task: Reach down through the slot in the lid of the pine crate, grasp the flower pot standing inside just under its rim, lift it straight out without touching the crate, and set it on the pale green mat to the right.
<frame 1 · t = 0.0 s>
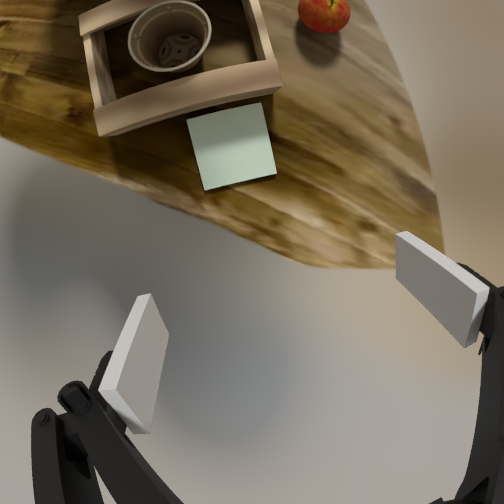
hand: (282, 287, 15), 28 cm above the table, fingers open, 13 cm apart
flower pot: (179, 53, 33), resting in crate
fruit: (316, 19, 32), on the table
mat: (232, 145, 38), on the table
crate: (179, 52, 32), on the table
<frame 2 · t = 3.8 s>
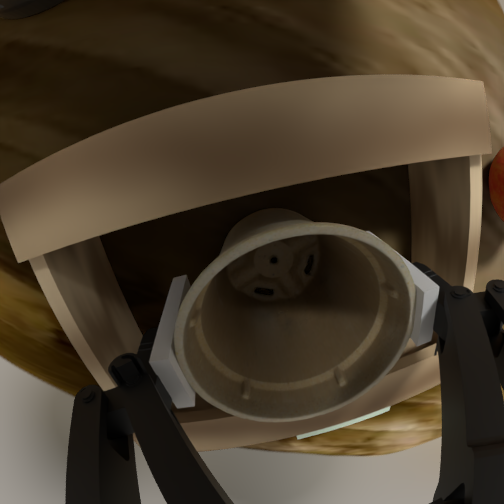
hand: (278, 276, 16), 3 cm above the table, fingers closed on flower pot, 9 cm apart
flower pot: (270, 255, 18), resting in crate, touching gripper
fruit: (494, 176, 18), on the table
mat: (342, 393, 24), on the table
crate: (271, 256, 18), on the table
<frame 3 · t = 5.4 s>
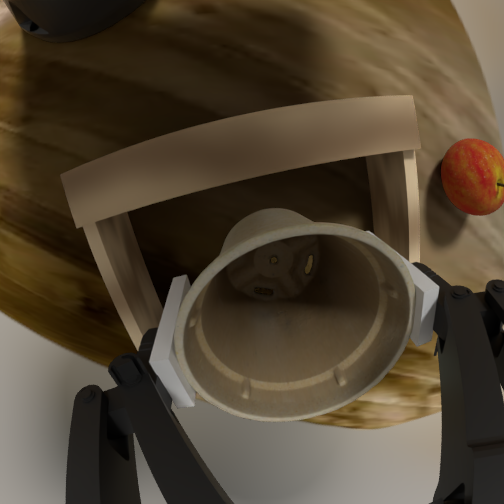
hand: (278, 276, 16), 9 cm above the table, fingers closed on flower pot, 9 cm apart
flower pot: (270, 255, 18), point 6 cm above the table, touching gripper
fruit: (450, 170, 24), on the table
crate: (259, 233, 24), on the table
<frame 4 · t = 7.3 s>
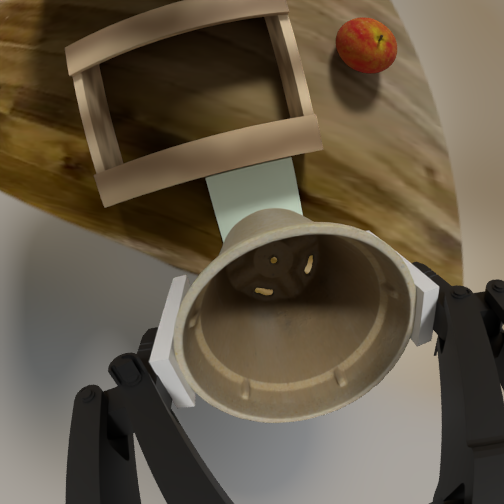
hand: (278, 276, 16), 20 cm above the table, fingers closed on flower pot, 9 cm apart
flower pot: (270, 255, 18), point 18 cm above the table, touching gripper
fruit: (353, 51, 29), on the table
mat: (257, 206, 35), on the table
crate: (192, 92, 29), on the table
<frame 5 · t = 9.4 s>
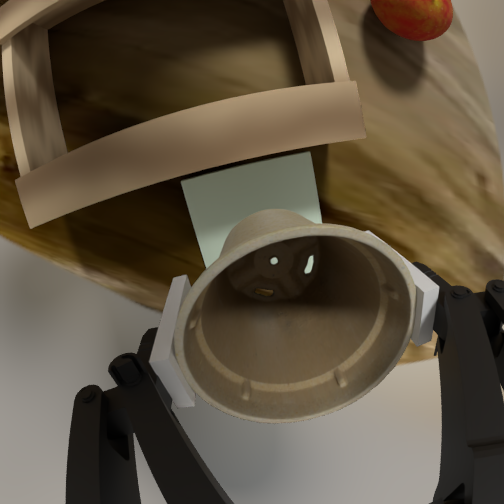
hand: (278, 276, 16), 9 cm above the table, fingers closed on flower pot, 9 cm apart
flower pot: (270, 256, 18), point 6 cm above the table, touching gripper
fruit: (390, 15, 18), on the table
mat: (258, 224, 24), on the table
crate: (165, 57, 18), on the table
when the fingers open (5 cm above the table, at t = 10.8 s): flower pot drops 1 cm, resting on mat.
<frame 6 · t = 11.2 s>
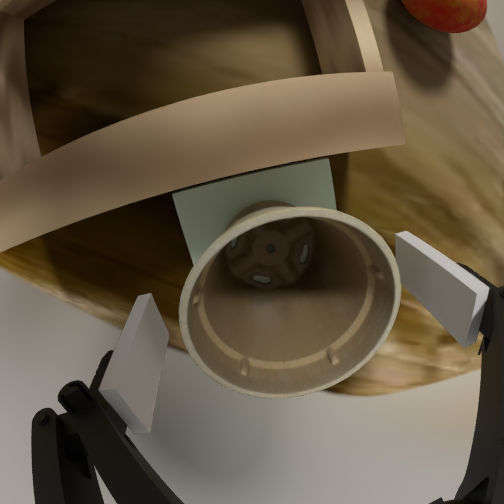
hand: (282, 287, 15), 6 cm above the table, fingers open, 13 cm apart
flower pot: (267, 245, 20), point 1 cm above the table, touching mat
fruit: (414, 3, 14), on the table
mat: (266, 244, 20), on the table
crate: (154, 45, 15), on the table
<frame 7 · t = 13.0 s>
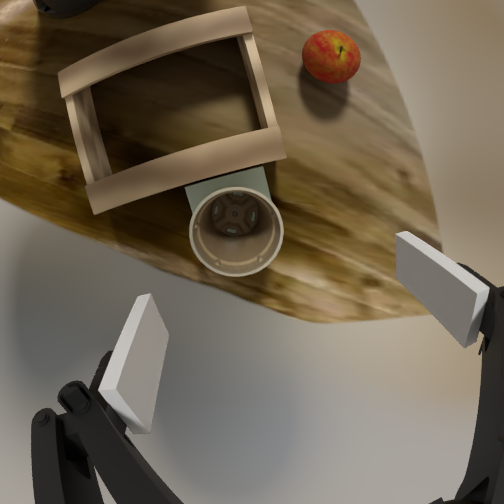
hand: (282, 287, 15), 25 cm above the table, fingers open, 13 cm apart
flower pot: (234, 212, 38), point 1 cm above the table, touching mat
fruit: (321, 63, 32), on the table
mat: (233, 212, 38), on the table
crate: (172, 109, 33), on the table
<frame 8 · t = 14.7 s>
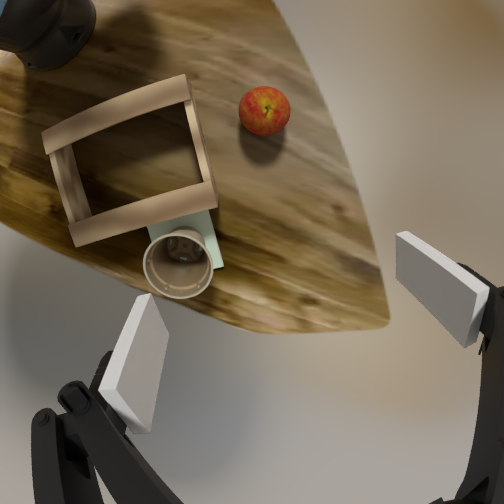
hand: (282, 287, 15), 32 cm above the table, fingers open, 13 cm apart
flower pot: (185, 244, 46), point 1 cm above the table, touching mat
fruit: (261, 112, 40), on the table
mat: (185, 243, 47), on the table
crate: (134, 160, 41), on the table
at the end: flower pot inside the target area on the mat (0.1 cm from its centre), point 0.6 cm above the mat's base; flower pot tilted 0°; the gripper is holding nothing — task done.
